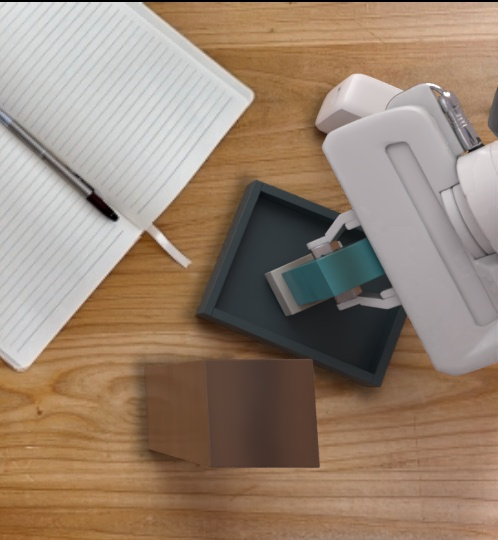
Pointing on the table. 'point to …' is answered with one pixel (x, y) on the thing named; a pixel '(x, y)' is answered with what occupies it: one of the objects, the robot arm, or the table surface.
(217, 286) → the tray
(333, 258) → the eraser
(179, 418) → the stand
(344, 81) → the power adapter
